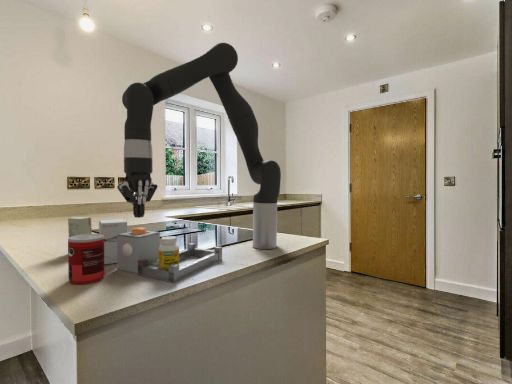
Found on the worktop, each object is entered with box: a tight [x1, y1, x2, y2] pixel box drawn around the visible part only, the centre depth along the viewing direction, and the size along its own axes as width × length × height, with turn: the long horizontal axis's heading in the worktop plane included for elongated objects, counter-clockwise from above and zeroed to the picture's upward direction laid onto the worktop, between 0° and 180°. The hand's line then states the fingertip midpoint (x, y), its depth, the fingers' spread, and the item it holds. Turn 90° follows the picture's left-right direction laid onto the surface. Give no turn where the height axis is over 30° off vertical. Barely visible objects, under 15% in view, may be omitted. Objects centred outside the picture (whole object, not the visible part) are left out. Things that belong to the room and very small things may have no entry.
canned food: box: [67, 233, 105, 286], centre depth 71 cm, size 8×8×11 cm
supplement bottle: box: [159, 235, 180, 269], centre depth 77 cm, size 5×5×10 cm
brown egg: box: [130, 227, 147, 235], centre depth 81 cm, size 4×4×6 cm
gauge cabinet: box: [117, 230, 161, 274], centre depth 81 cm, size 8×8×10 cm
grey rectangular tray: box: [137, 242, 223, 283], centre depth 83 cm, size 23×12×4 cm, turn 156°
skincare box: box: [67, 216, 93, 238], centre depth 95 cm, size 6×4×12 cm
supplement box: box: [98, 218, 128, 265], centre depth 87 cm, size 7×7×13 cm
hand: (139, 217), depth 81 cm, fingers closed
